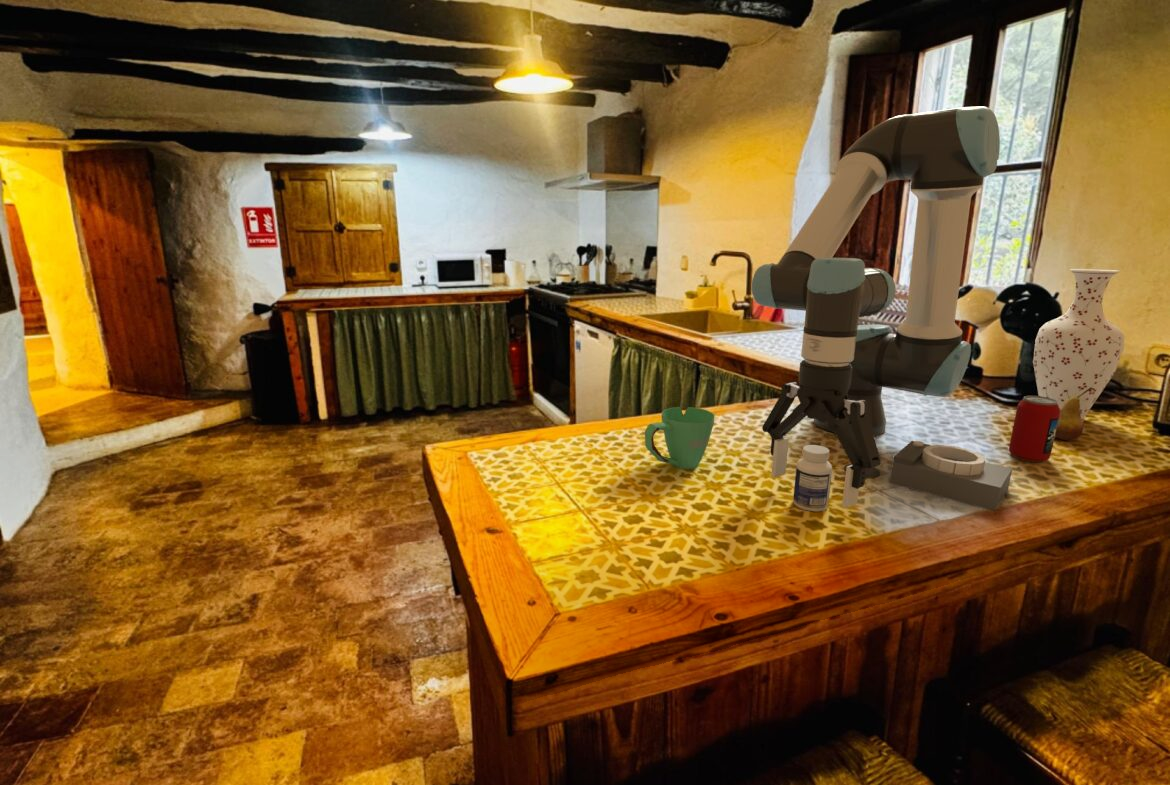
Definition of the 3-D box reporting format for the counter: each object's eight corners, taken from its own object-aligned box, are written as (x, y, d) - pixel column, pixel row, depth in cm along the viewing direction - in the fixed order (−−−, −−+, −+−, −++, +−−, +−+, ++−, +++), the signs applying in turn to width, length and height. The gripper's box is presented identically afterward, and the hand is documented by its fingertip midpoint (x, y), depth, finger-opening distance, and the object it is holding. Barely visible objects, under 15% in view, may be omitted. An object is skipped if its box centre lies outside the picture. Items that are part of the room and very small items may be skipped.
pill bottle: (799, 495, 102) (805, 440, 99) (832, 504, 98) (839, 448, 96) (787, 505, 98) (793, 449, 95) (821, 515, 94) (828, 457, 92)
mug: (686, 451, 121) (689, 404, 119) (722, 467, 113) (726, 416, 111) (629, 466, 113) (630, 416, 111) (663, 484, 106) (665, 430, 103)
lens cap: (837, 471, 113) (837, 467, 112) (856, 465, 116) (857, 461, 115) (866, 482, 108) (867, 478, 107) (886, 475, 111) (886, 471, 111)
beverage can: (1056, 465, 115) (1070, 405, 112) (1017, 462, 117) (1029, 403, 113) (1038, 452, 122) (1050, 395, 118) (1001, 450, 123) (1012, 393, 120)
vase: (1005, 412, 149) (1034, 268, 140) (1046, 405, 155) (1076, 267, 146) (1078, 431, 135) (1115, 273, 125) (1120, 423, 141) (1158, 271, 131)
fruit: (1060, 433, 133) (1071, 381, 130) (1086, 442, 128) (1100, 388, 125) (1040, 435, 132) (1052, 382, 129) (1066, 444, 126) (1079, 389, 123)
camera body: (889, 482, 107) (894, 451, 105) (907, 465, 115) (912, 435, 113) (995, 510, 96) (1003, 475, 95) (1008, 489, 104) (1014, 457, 103)
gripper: (747, 350, 100) (738, 468, 105) (889, 381, 80) (868, 526, 85) (778, 345, 104) (767, 460, 109) (920, 374, 83) (899, 513, 89)
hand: (811, 489), depth 97 cm, fingers open, 13 cm apart
